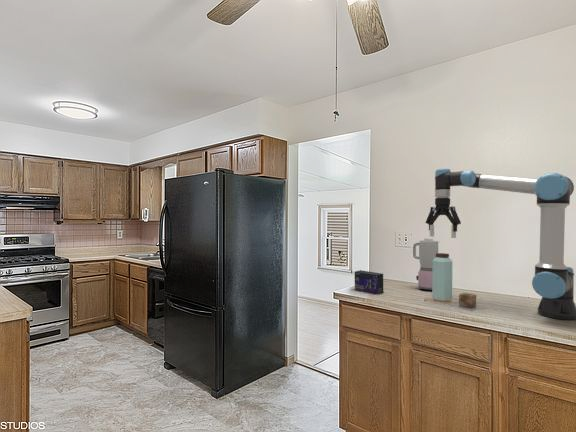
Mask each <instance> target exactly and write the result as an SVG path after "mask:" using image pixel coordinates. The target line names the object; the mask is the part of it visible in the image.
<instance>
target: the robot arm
mask: <svg viewBox="0 0 576 432" xmlns="http://www.w3.org/2000/svg"><path fill="white" fill-rule="evenodd" d="M434 173H435V174H434V184H435V185H434V188H435V189H434V197H435V199H434V204H435V206H431V207H430V209H429V210H430V211H429V213H428V216H427V218H426V220H425V224H427V225H428V231H429V237H431V238H432V237H433V238H434V237H435V224H434V223H435V222H436V221H437V219H438V218H439V217H440V216H446V217H447V219H448V220H449V222H450V223H451V224H452V225H450V226H451V228H450V229H451V232H450V234H451V235H450V238H451V239H456V238H457V232H458V225H461V224H462V222H461V219H460V217H459V215H458V213H457V209H456V206H450V205H451V198H450V197H451V187H460V186H461V187H467V188H472V189H473V188H475V189H484V190H485V189H486V190H494V191H500V192H501V191H504V192H512V193H520V194H521V193H522V194H529V195H535V196H536V206H538V207H539V209H540V216H539V217H540V223H539V225H540V226H539V261H538V263H536V264H534V265H535V266H534V276H533V278H532V280H531V285H532V289H533V291H535V293H536V294H538V295H539V296H540V297H541V300H540V302H539V303H538V304H539V305H538V307H537V314H538V315H540V316H543V317H545V318H549V319H556V320H565V321H576V304H575V301H574V294H575V291H574V289H575V288H574V285H575V283H574V277H575V273H574V268H573V267H570V266H567V265H566V264H564V260H565V259H564V258H565V257H564V256H565V223H566V222H565V221H566V218H565V217H566V216H565V215H566V208H567V207H569V206H570V203H571V202H570V201H571V196H572V195H573V193H574V191H575V190H574V189H575V185H574V183H573V180H571V178H569V177H567V176H566V175H563V174H562V173H558V172H551V173H546V174H544V175H541V176H540V177H538V178H537V177H525V176H524V177H521V176H510V175H509V176H508V175H507V176H506V175H498V174H497V175H495V174H484V173H476V172H475V171H474V170H461V171H451V169H450V168H438V169H435V172H434Z"/></svg>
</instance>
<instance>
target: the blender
mask: <svg viewBox="0 0 576 432" xmlns="http://www.w3.org/2000/svg"><path fill="white" fill-rule="evenodd" d="M439 243H440V241H438V240H434V238H424V239H423V240H419V242H415V243H414V244H413V246H412V249H413V250H412V254H413V256H412V257H413V258H414V259H417V260H419V264H420V268H419V270H418V273H417V275H416V278H415V279H416V281H417V282H418V283H417V284H418V285H417V288H418V290H419V291H421V289H422V290H428V291H429V290H431V291H432V279H433V259H434V258H435V257H436V253H439ZM417 246H418V255H417Z"/></svg>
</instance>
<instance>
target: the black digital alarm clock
mask: <svg viewBox="0 0 576 432" xmlns="http://www.w3.org/2000/svg"><path fill="white" fill-rule="evenodd" d="M354 290H355V291H357V290H358V291H359V292H362V291H363V292H364V293H367V292H368V293H367V294H372V295H377V296H378V295H382V294H384V273H380V272H374V271H370V270H369V271H368V270H361V269H360V270H356V271H354ZM358 291H357V292H358Z"/></svg>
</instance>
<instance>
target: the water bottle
mask: <svg viewBox="0 0 576 432" xmlns="http://www.w3.org/2000/svg"><path fill="white" fill-rule="evenodd" d="M431 291H432V295H431V296H432V297H431V298H433V299H434V300H436V301H440V302H450V301H451V299H452V300H453V260H452V259H451V258H450V253H443V252H441V253H439V252H438V253H436V257H435V258H434V259H433V279H432V290H431Z"/></svg>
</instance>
